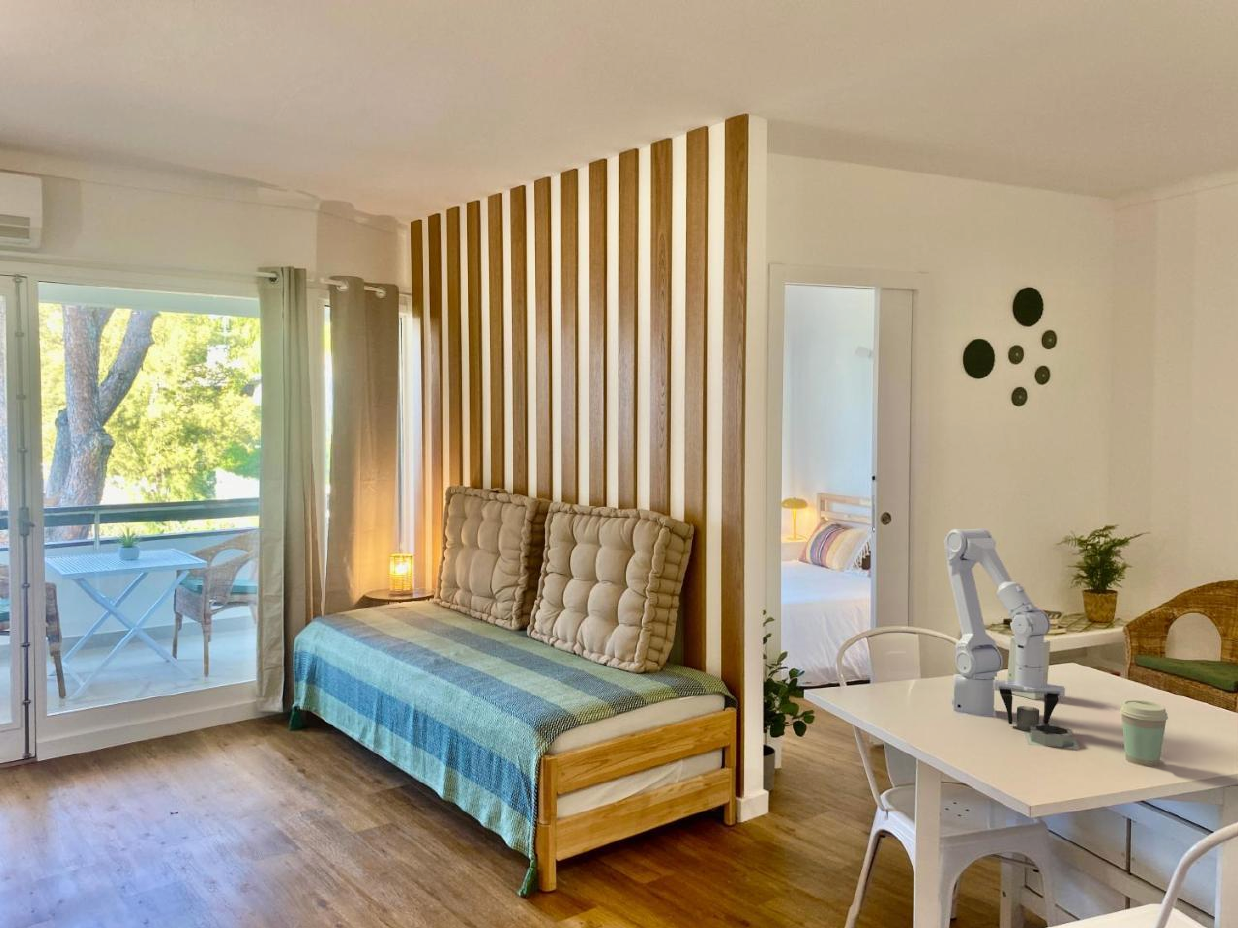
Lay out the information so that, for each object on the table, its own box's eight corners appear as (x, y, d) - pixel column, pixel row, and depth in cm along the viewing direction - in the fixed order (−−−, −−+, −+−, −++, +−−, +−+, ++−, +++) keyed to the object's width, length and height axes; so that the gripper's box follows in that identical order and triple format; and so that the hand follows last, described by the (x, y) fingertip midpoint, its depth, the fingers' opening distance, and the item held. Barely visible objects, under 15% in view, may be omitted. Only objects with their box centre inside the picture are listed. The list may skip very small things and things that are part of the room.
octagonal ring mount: (1032, 744, 197) (1033, 732, 197) (1028, 733, 205) (1029, 721, 205) (1075, 749, 195) (1075, 737, 195) (1069, 737, 202) (1070, 726, 202)
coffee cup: (1176, 770, 184) (1178, 711, 184) (1135, 771, 184) (1137, 711, 183) (1148, 756, 193) (1150, 699, 192) (1109, 756, 192) (1110, 699, 192)
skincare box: (1005, 693, 241) (1007, 636, 240) (1018, 689, 244) (1019, 633, 244) (1037, 700, 234) (1038, 641, 234) (1049, 696, 238) (1050, 639, 237)
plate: (1028, 746, 198) (1028, 743, 198) (1024, 735, 205) (1024, 732, 205) (1079, 752, 194) (1079, 749, 194) (1074, 740, 202) (1074, 738, 202)
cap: (1017, 732, 207) (1017, 709, 207) (1015, 726, 212) (1016, 704, 212) (1039, 735, 206) (1040, 712, 206) (1037, 729, 210) (1038, 706, 210)
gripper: (995, 665, 207) (994, 726, 207) (1067, 671, 202) (1065, 733, 203) (993, 658, 214) (992, 717, 214) (1062, 664, 209) (1061, 724, 209)
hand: (1027, 724), depth 209 cm, fingers open, 7 cm apart
